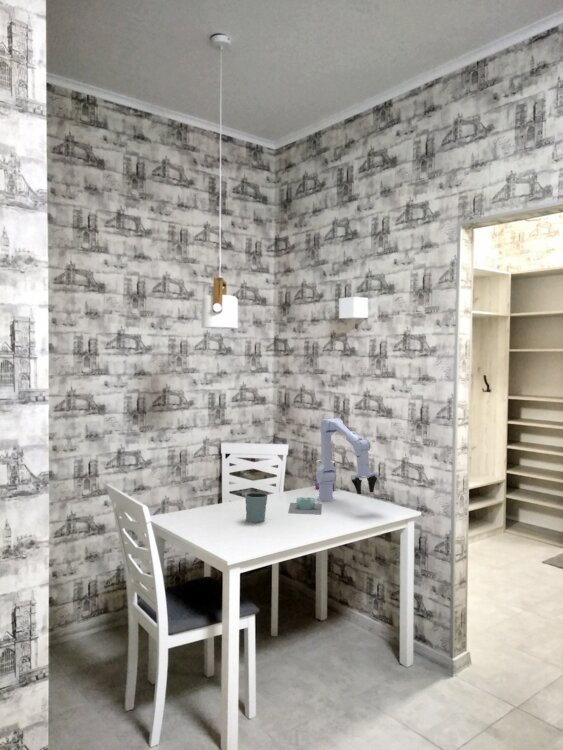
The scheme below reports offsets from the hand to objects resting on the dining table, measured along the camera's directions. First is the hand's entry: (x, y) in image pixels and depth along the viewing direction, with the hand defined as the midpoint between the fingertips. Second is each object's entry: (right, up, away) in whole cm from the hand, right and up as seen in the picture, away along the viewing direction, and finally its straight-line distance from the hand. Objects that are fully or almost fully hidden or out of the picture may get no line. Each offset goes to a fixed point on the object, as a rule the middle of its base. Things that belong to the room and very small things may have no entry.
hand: (365, 493), depth 279 cm
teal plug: (-28, -9, +7) cm, 30 cm away
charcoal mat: (-29, -10, +7) cm, 31 cm away
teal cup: (-52, -10, -13) cm, 55 cm away
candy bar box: (-15, -9, +51) cm, 54 cm away
